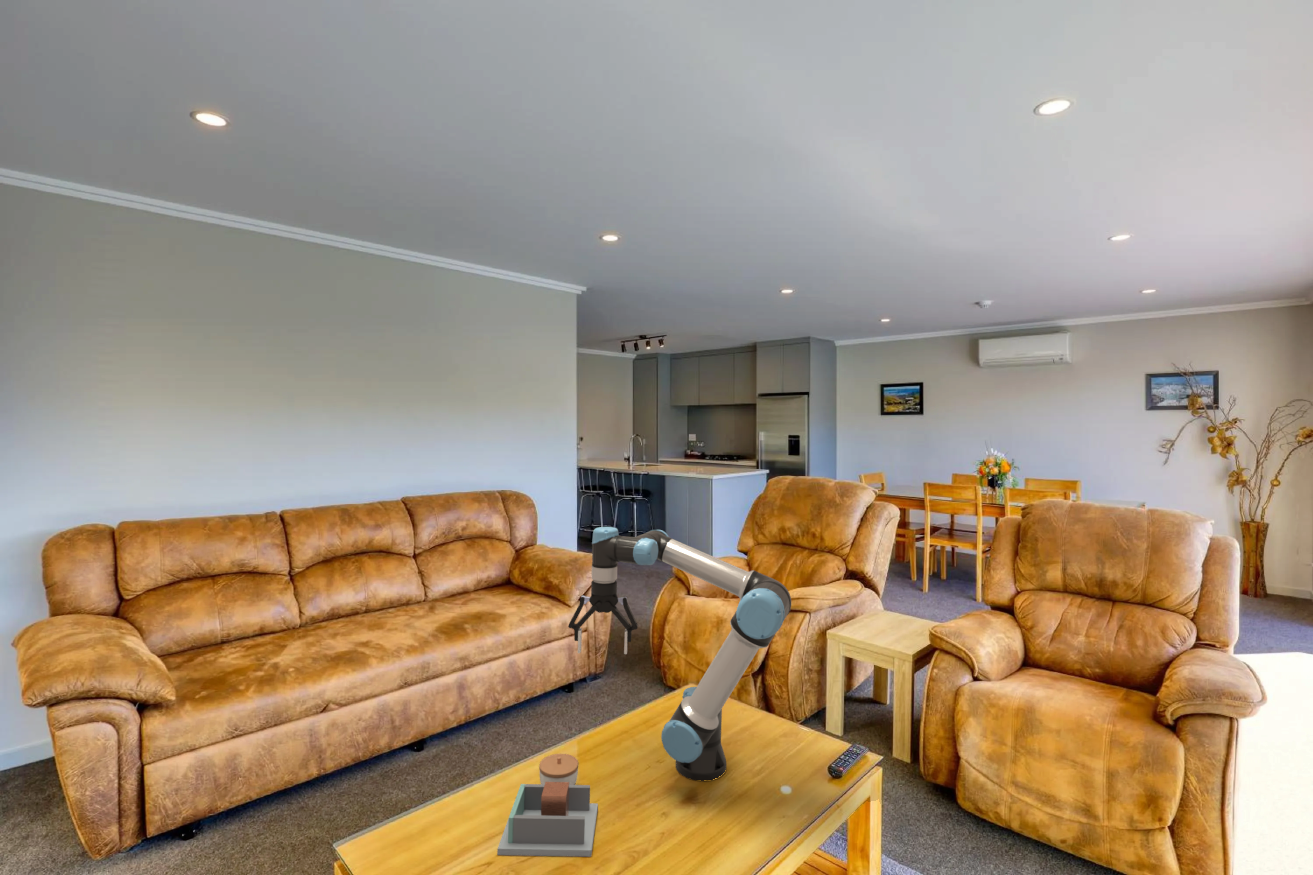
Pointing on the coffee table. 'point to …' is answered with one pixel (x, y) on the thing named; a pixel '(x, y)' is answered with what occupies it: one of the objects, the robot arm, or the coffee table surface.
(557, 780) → the lidded jar
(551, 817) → the dock
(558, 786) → the upright terracotta block
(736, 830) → the coffee table surface
